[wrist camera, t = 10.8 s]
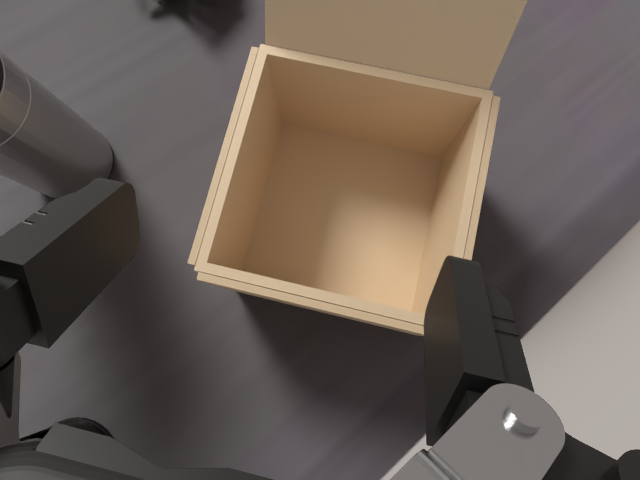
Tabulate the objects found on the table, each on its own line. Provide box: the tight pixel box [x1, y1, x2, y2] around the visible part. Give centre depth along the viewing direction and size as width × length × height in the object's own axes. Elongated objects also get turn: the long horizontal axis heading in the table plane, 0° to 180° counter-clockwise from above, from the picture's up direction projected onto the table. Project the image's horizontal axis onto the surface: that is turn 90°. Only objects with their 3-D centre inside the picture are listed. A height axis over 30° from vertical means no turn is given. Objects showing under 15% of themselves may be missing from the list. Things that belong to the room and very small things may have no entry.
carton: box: [188, 44, 500, 336], centre depth 42 cm, size 21×21×14 cm
